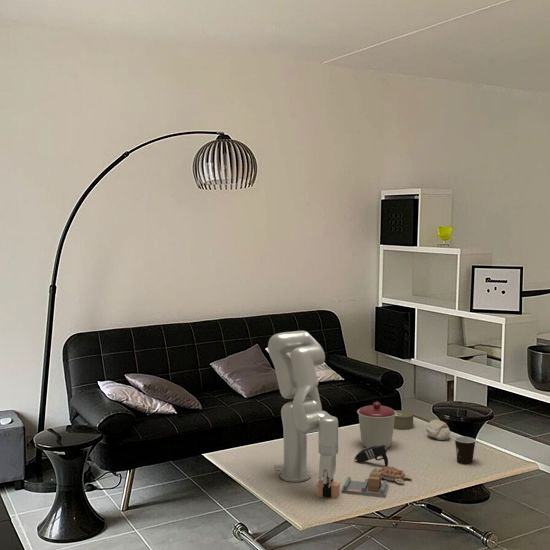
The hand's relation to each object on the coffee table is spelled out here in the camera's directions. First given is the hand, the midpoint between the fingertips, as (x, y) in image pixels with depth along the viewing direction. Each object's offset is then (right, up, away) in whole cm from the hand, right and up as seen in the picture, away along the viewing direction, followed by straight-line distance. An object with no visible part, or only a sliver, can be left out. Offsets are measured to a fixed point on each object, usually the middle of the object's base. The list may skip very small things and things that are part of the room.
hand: (328, 494), depth 275 cm
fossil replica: (+58, +6, +68) cm, 90 cm away
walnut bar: (+19, +1, +5) cm, 19 cm away
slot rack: (+15, 0, +5) cm, 16 cm away
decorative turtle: (+27, +1, +17) cm, 32 cm away
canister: (+27, +5, +57) cm, 63 cm away
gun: (+21, +2, +34) cm, 40 cm away
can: (+44, +7, +87) cm, 98 cm away
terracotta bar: (0, -1, 0) cm, 1 cm away
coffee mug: (+63, +3, +37) cm, 73 cm away
